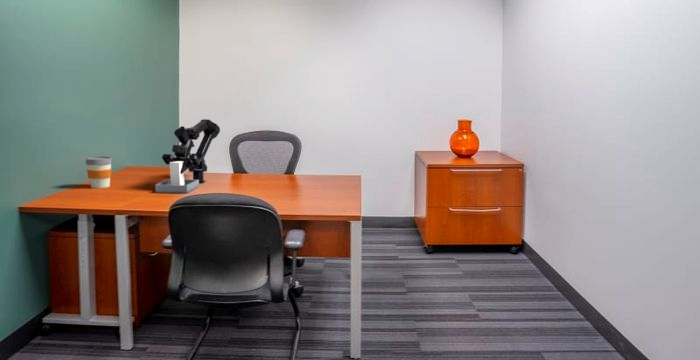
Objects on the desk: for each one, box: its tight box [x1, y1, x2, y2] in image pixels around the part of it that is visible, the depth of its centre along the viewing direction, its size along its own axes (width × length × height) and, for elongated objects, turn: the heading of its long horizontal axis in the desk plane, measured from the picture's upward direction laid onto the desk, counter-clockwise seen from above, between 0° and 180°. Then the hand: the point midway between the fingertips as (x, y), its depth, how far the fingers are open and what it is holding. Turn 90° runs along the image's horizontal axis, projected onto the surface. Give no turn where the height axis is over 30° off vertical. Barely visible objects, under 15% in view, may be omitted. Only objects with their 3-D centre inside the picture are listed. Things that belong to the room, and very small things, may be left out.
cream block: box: [169, 161, 185, 185], centre depth 310 cm, size 5×5×12 cm
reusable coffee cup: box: [85, 156, 113, 189], centre depth 317 cm, size 13×13×15 cm
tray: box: [154, 178, 200, 195], centre depth 311 cm, size 18×16×4 cm
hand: (175, 173), depth 308 cm, fingers closed on cream block, 5 cm apart
